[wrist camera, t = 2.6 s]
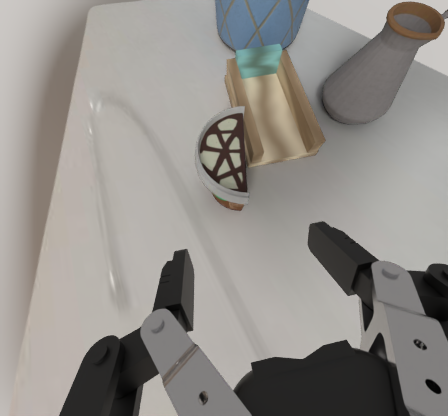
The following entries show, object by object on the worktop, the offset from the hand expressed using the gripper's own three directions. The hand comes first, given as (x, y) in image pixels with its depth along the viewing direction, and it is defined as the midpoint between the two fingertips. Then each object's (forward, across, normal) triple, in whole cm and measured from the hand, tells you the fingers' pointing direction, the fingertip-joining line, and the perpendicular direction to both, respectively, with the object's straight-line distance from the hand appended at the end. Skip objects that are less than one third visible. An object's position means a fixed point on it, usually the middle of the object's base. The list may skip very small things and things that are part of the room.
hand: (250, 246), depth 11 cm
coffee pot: (+27, -31, -6) cm, 42 cm away
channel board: (+27, -11, -6) cm, 30 cm away
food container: (+19, 0, +3) cm, 19 cm away
